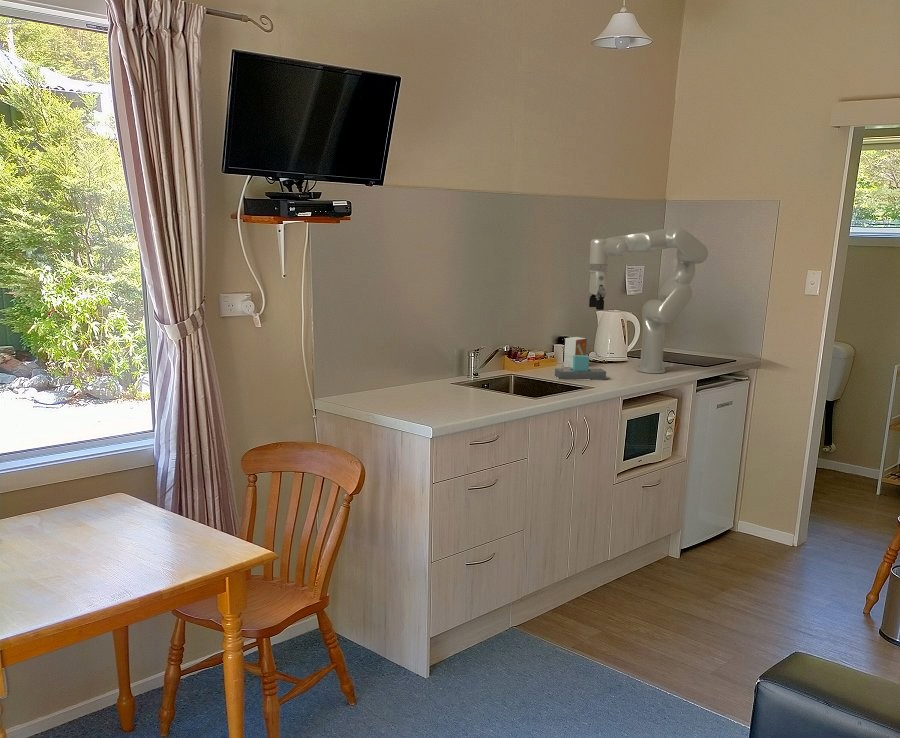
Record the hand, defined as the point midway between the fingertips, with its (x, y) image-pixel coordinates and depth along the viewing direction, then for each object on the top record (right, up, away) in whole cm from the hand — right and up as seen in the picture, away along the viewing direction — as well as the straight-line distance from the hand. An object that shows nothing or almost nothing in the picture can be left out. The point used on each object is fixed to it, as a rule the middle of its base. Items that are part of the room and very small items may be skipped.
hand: (596, 308), depth 345 cm
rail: (-8, -30, -8) cm, 32 cm away
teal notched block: (-8, -29, -8) cm, 31 cm away
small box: (-6, -25, +19) cm, 32 cm away
